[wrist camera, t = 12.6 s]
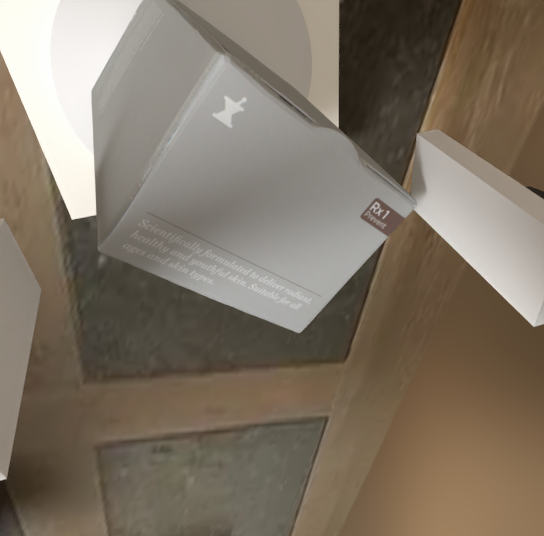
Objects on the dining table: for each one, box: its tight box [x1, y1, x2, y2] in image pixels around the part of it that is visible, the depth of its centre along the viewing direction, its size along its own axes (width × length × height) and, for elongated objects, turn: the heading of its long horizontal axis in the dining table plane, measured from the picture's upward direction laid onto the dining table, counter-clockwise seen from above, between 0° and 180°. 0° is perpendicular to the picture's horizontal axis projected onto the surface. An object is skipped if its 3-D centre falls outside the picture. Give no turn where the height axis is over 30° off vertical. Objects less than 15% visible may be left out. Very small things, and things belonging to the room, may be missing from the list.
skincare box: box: [91, 0, 417, 333], centre depth 20 cm, size 8×7×16 cm
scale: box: [0, 0, 339, 220], centre depth 27 cm, size 18×17×5 cm
